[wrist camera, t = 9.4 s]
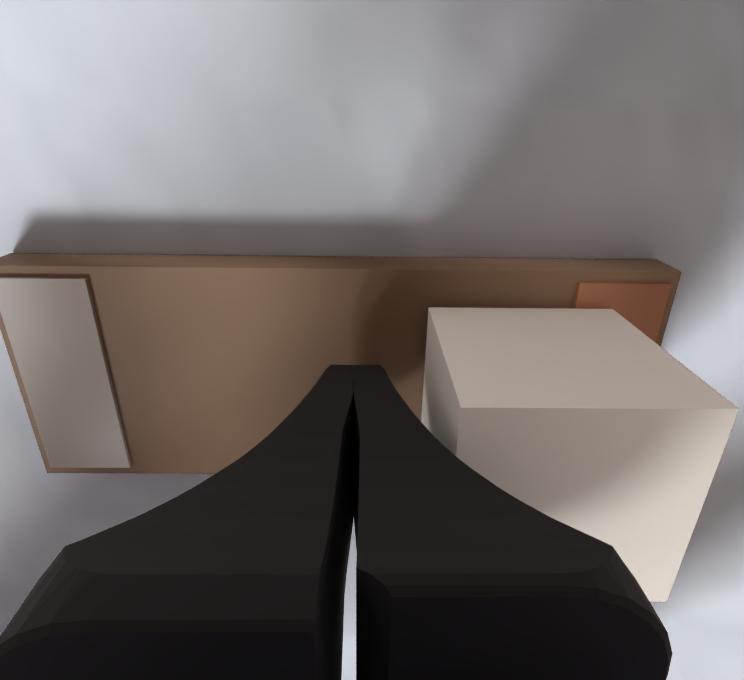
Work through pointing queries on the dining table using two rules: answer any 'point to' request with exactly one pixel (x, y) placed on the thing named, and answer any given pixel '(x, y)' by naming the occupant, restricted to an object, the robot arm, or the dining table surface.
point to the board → (251, 339)
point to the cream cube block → (580, 424)
